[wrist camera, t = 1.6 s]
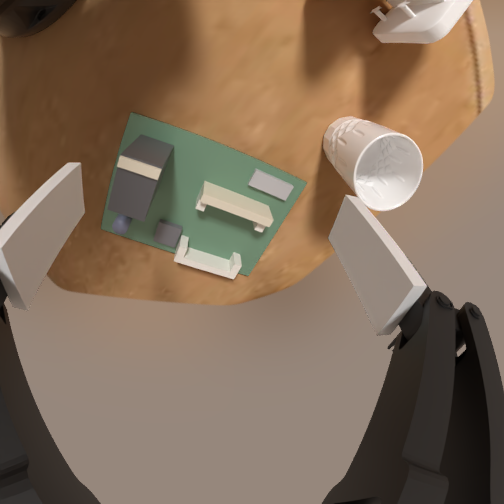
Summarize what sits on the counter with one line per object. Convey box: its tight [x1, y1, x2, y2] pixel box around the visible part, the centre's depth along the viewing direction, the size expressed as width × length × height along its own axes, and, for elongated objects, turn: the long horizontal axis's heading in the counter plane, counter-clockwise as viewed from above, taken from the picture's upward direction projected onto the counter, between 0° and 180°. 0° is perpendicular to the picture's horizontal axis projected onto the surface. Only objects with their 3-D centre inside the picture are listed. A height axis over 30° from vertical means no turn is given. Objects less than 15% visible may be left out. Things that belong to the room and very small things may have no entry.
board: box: [101, 112, 307, 276], centre depth 32 cm, size 22×16×3 cm
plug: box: [107, 134, 174, 222], centre depth 26 cm, size 4×6×7 cm, turn 153°
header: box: [174, 181, 274, 279], centre depth 34 cm, size 8×11×4 cm
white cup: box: [323, 116, 423, 211], centre depth 26 cm, size 8×8×10 cm
